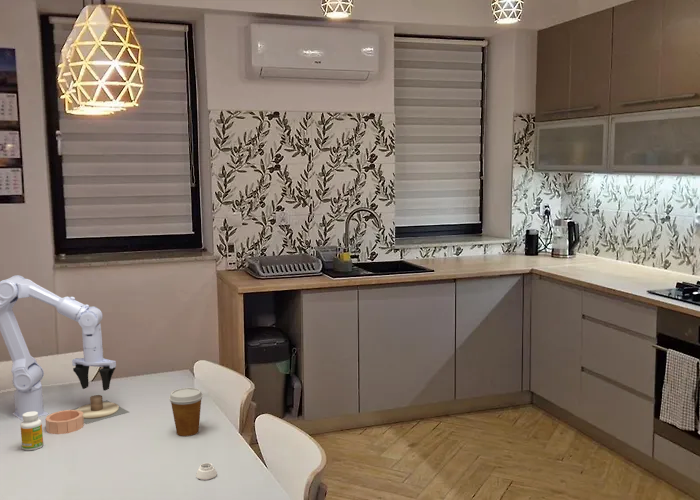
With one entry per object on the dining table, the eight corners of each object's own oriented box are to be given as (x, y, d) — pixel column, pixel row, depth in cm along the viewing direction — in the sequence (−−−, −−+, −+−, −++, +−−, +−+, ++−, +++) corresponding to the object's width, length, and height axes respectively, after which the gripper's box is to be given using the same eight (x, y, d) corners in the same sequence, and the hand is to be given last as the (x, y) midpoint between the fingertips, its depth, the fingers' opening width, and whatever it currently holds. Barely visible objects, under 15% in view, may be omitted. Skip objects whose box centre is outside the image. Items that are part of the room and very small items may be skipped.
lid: (68, 411, 225) (67, 397, 225) (107, 401, 234) (106, 387, 234) (85, 422, 216) (84, 407, 215) (126, 411, 225) (125, 396, 224)
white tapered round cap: (196, 482, 176) (217, 479, 177) (195, 470, 176) (216, 468, 177) (196, 473, 181) (216, 471, 182) (195, 462, 180) (216, 460, 181)
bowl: (41, 429, 212) (40, 416, 212) (75, 419, 219) (74, 407, 219) (55, 438, 205) (54, 424, 205) (89, 428, 212) (88, 415, 212)
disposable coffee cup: (211, 431, 208) (209, 391, 207) (183, 441, 201) (181, 400, 200) (192, 423, 215) (190, 385, 213) (164, 432, 208) (162, 393, 206)
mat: (64, 412, 226) (64, 411, 226) (107, 401, 236) (107, 400, 236) (86, 425, 215) (86, 423, 215) (129, 413, 224) (129, 411, 224)
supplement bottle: (35, 451, 196) (32, 417, 195) (18, 450, 197) (15, 416, 196) (47, 444, 201) (44, 410, 200) (30, 442, 202) (27, 409, 201)
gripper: (120, 344, 224) (123, 386, 226) (81, 342, 228) (84, 383, 230) (106, 350, 217) (109, 393, 219) (66, 347, 221) (69, 390, 223)
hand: (95, 388), depth 224 cm, fingers open, 7 cm apart
